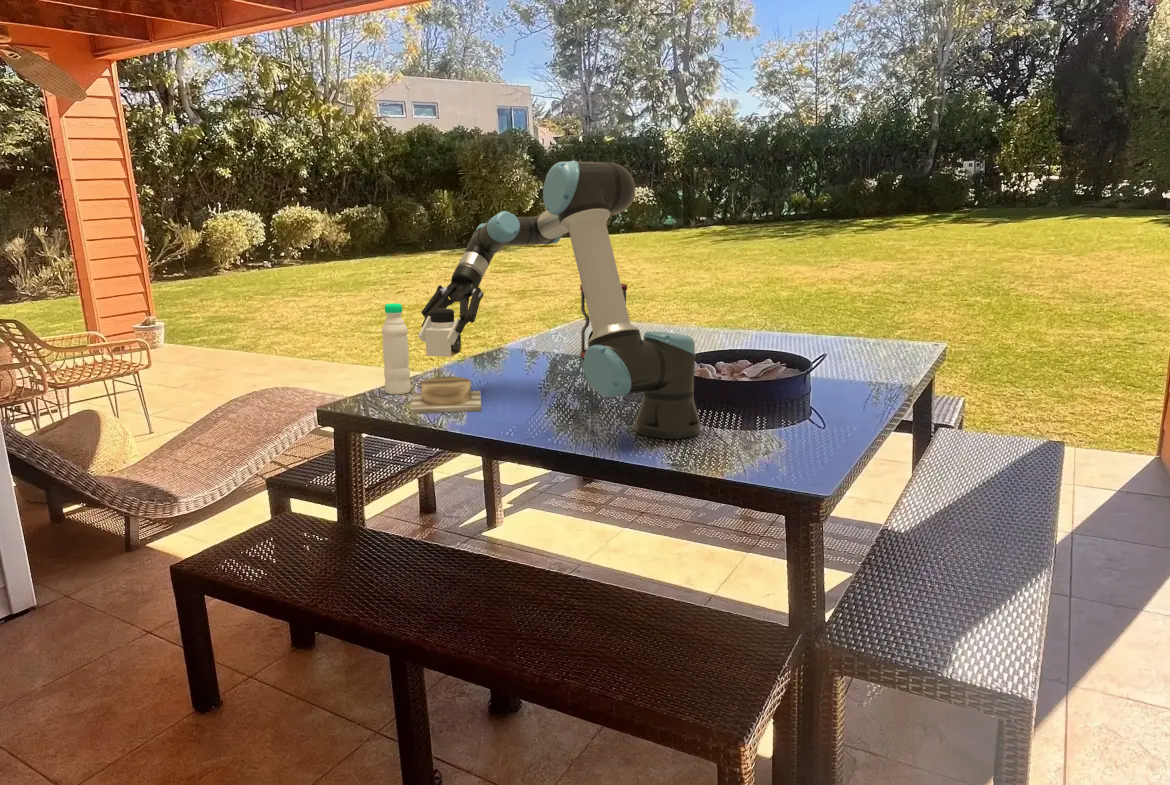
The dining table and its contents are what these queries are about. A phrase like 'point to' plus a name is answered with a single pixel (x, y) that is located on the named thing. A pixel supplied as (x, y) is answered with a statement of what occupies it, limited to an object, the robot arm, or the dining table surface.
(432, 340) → the medicine bottle
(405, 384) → the water bottle
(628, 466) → the dining table surface
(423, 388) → the post stand
